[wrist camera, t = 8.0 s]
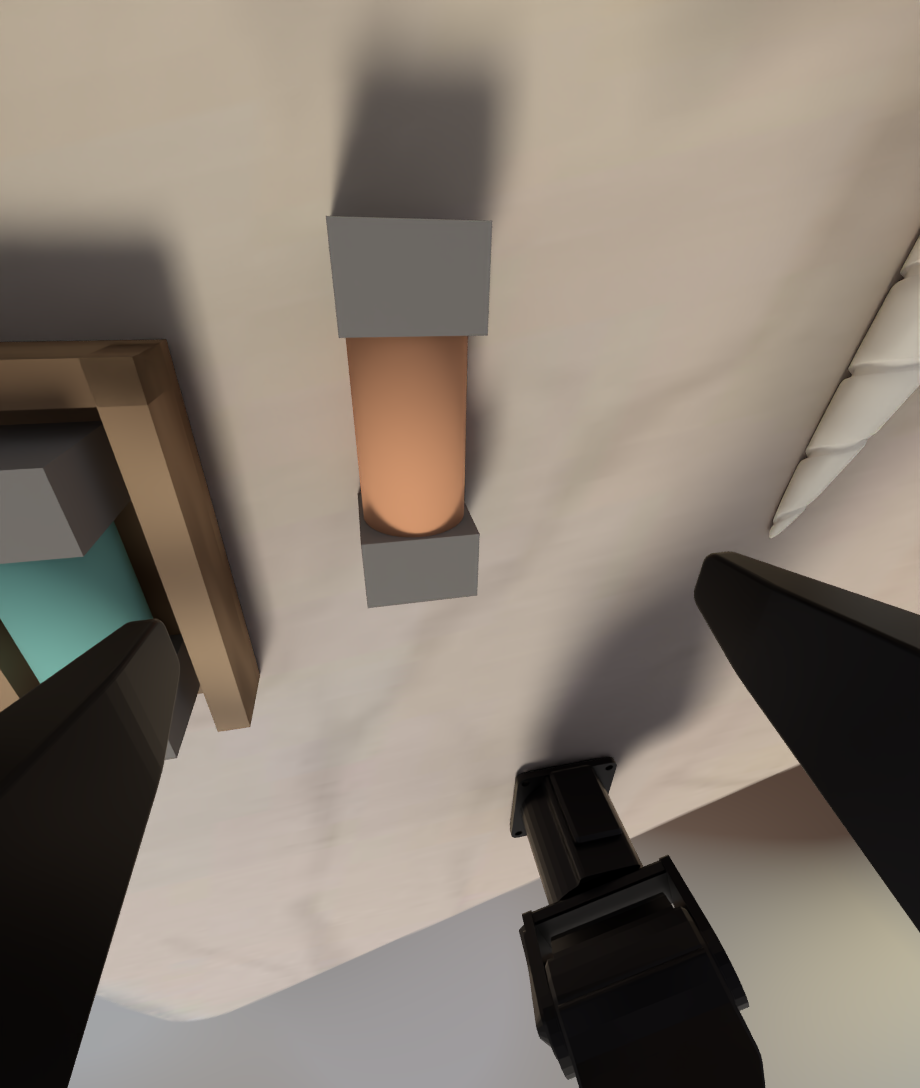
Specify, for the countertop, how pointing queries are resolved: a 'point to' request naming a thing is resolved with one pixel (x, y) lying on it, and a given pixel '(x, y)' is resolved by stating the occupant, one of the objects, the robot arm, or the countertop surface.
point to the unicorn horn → (862, 394)
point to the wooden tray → (142, 503)
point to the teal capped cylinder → (70, 552)
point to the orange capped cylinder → (411, 394)
